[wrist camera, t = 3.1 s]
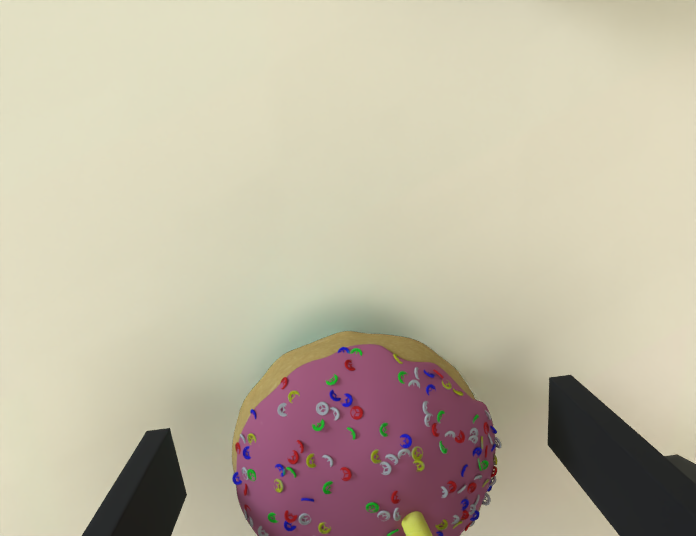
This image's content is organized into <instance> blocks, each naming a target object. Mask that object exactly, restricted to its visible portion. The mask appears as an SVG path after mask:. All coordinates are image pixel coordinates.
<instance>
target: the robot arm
mask: <svg viewBox="0 0 696 536" xmlns="http://www.w3.org/2000/svg"><path fill="white" fill-rule="evenodd" d="M548 446H549V447H550V448H551V449H552V451H553V452H554V453H555V454H556V456H557V457H558V458H559V459H560V461H561V462H562V463H563V465H564V466H565V467H566V468H567V470H568V471H569V472H570V473H571V475H572V476H573V477H574V478H575V480H576V481H577V482H578V484H579V485H580V486H581V487H582V489H583V490H584V491H585V492H586V494H587V495H588V496H589V497H590V499H591V500H592V501H593V502H594V504H595V505H596V506H597V508H598V509H599V510H600V511H601V513H602V514H603V515H604V516H605V518H606V519H607V520H608V521H609V523H610V524H611V525H612V527H613V528H614V529H615V530H616V532H617V533H618V534H619V535H620V536H696V464H694V463H692V462H691V461H689V460H687V459H685V458H683V457H681V456H679V455H670V456H663V455H662V454H661V453H660V452H659V451H658V450H656V449H655V448H654V447H653V446H652V445H651V444H649V443H648V442H647V441H646V440H645V439H644V438H643V437H641V436H640V435H639V434H638V433H637V432H636V431H635V430H633V429H632V428H631V427H630V426H629V425H628V424H627V423H625V422H624V421H623V420H622V419H621V418H620V417H619V416H617V415H616V414H615V413H614V412H613V411H612V410H611V409H609V408H608V407H607V406H606V405H605V404H604V403H603V402H601V401H600V400H599V399H598V398H597V397H596V396H594V395H593V394H592V393H591V392H590V391H589V390H588V389H586V388H585V387H584V386H583V385H582V384H581V383H580V382H578V381H577V380H576V379H575V378H574V377H573V376H572V375H566V376H558V377H551V378H549V413H548ZM186 495H187V494H186V490H185V486H184V482H183V478H182V474H181V470H180V466H179V462H178V459H177V455H176V451H175V447H174V443H173V439H172V435H171V431H170V428H167V429H159V430H152V431H147V432H146V433H145V435H144V436H143V438H142V440H141V441H140V443H139V444H138V446H137V448H136V449H135V451H134V452H133V454H132V456H131V457H130V459H129V461H128V462H127V464H126V465H125V467H124V469H123V470H122V472H121V473H120V475H119V477H118V478H117V480H116V481H115V483H114V485H113V486H112V488H111V489H110V491H109V493H108V494H107V496H106V498H105V499H104V501H103V502H102V504H101V506H100V507H99V509H98V510H97V512H96V514H95V515H94V517H93V518H92V520H91V522H90V523H89V525H88V527H87V528H86V530H85V531H84V533H83V535H82V536H171V534H172V532H173V529H174V526H175V524H176V521H177V519H178V516H179V513H180V511H181V508H182V506H183V503H184V501H185V498H186Z"/></svg>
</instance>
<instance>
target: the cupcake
mask: <svg viewBox="0 0 696 536" xmlns="http://www.w3.org/2000/svg"><path fill="white" fill-rule="evenodd" d="M496 433H497V431H496V429H495V428H493V423H492V419H491V416H490V413H489V410H488V408H487V407H486V405H485V404H484V403H483V402H480V401H477V400H475V398H474V396H473V394H472V392H471V390H470V389H469V387H468V386H467V384H466V382H465V381H464V379H463V378H462V377H461V375H460V374H459V372H458V371H457V370H456V369H455V368H454V367H453V366H452V365H451V364H449V363H448V362H447V361H445V360H444V359H443V358H441V357H440V356H439V355H438V354H436V353H435V352H434V351H433V350H432V349H430V348H429V347H427V346H426V345H424V344H423V343H421V342H419V341H416V340H414V339H410V338H406V337H400V336H393V335H384V334H365V333H359V332H352V331H344V332H339V333H336V334H333V335H330V336H328V337H325V338H323V339H320V340H317V341H315V342H313V343H310V344H308V345H305V346H302V347H299V348H297V349H294V350H292V351H290V352H287V353H286V354H284V355H282V356H281V357H280V358H279V359H277V360H276V361H275V362H274V363H273V364H272V366H271V367H270V368H269V369H268V371H267V372H266V373H265V375H264V376H263V377H262V378H261V380H260V381H259V382H258V383H257V384H256V385H255V387H254V388H253V389H252V390H251V391H250V393H249V394H248V395H247V397H246V399H245V400H244V402H243V404H242V406H241V409H240V412H239V416H238V419H237V423H236V427H235V432H234V437H233V445H232V463H233V469H234V475H233V482H234V484H236V488H237V496H238V500H239V503H240V506H241V509H242V511H243V513H244V515H245V518H246V520H247V521H248V523H249V524H250V526H251V527H252V529H253V530H254V531H255V533H256V534H257V535H258V536H460V534H461V533H462V532H463V531H464V529H465V531H467V529H468V527H470V526H472V525H473V524H474V522H475V520H477V519H478V518H479V510H480V507H481V505H482V504H483V505H489V504H490V496H489V495H488V494H487V493H486V492H487V491H488V492H489V491H490V490H491V488H492V485H494V484H495V482H496V477H495V475H496V473H497V467H496V466H494V465H497V457H496V455H495V450H496V447H497V448H501V442H500V440H499V439H498V438H497V437H495V434H496ZM495 440H497V442H498V443H499V445H498V443H497V442H496V441H495ZM496 443H497V444H496ZM493 469H495V470H494V471H493ZM493 472H494V474H493ZM491 477H493V478H492V479H491ZM493 479H494V480H493ZM492 480H493V482H492ZM488 487H489V488H488ZM486 497H487V498H488V500H487V499H486ZM483 500H486V501H487V502H484V501H483ZM476 514H477V515H476Z"/></svg>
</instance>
